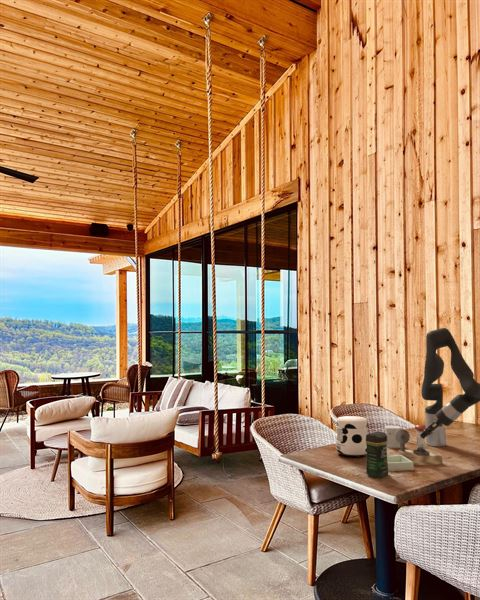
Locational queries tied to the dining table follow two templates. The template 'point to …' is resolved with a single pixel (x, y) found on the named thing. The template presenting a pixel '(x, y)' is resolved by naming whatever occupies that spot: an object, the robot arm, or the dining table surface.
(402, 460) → the tray
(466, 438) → the dining table surface
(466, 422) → the dining table surface
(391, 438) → the small box
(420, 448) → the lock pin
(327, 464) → the dining table surface
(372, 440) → the coffee jar
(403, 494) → the dining table surface
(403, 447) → the block
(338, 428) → the white printed canister
